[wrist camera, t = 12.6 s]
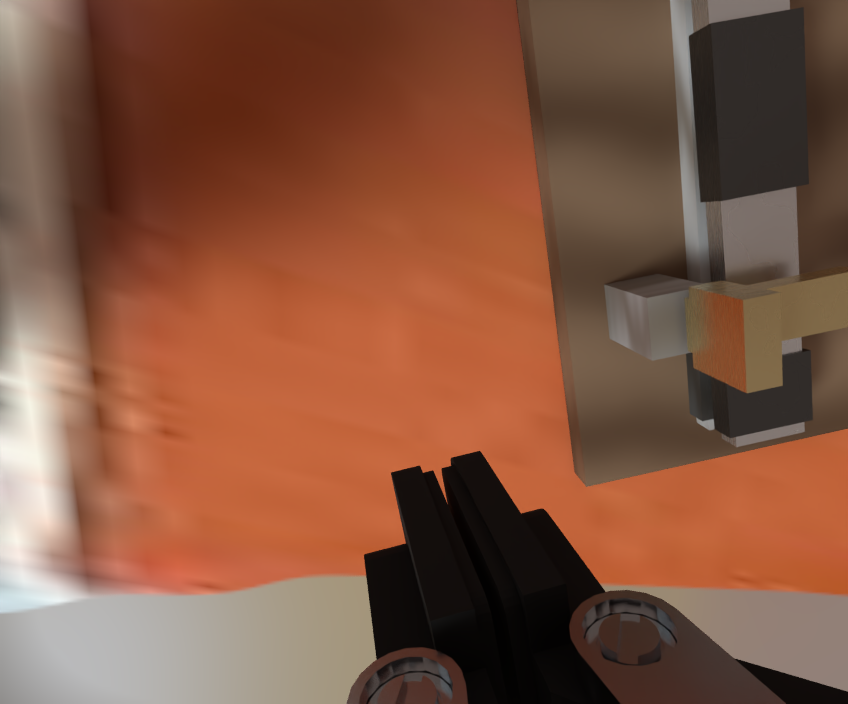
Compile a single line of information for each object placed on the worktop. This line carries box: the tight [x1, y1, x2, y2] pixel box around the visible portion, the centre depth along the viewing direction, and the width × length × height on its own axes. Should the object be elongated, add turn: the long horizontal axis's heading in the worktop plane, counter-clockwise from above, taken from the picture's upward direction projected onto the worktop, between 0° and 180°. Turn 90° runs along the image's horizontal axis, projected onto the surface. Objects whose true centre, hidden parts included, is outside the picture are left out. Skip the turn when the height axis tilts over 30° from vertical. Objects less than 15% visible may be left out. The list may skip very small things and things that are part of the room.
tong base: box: [516, 0, 848, 487], centre depth 22 cm, size 31×14×6 cm, turn 10°
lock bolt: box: [684, 266, 848, 393], centre depth 20 cm, size 6×3×4 cm, turn 100°
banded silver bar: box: [689, 0, 813, 447], centre depth 22 cm, size 26×4×1 cm, turn 10°
